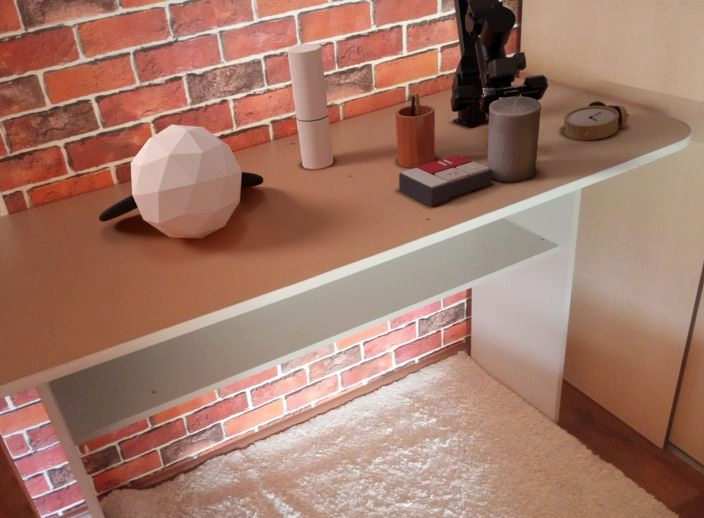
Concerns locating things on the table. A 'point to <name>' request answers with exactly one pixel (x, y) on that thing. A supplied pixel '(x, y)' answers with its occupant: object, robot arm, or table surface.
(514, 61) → the robot arm
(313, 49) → the cylindrical container
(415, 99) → the pencils
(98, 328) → the table surface
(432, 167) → the calculator
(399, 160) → the pen pot
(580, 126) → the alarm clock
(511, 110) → the pillar candle
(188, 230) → the faceted geodesic sphere
